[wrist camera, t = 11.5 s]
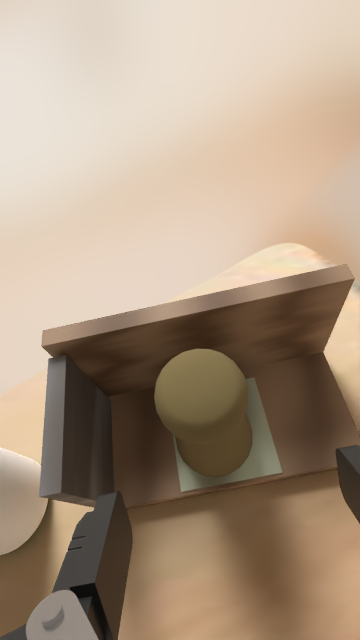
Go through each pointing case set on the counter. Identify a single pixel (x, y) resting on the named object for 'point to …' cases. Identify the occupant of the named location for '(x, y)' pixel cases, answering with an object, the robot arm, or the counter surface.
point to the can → (19, 499)
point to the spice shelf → (145, 367)
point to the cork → (205, 410)
